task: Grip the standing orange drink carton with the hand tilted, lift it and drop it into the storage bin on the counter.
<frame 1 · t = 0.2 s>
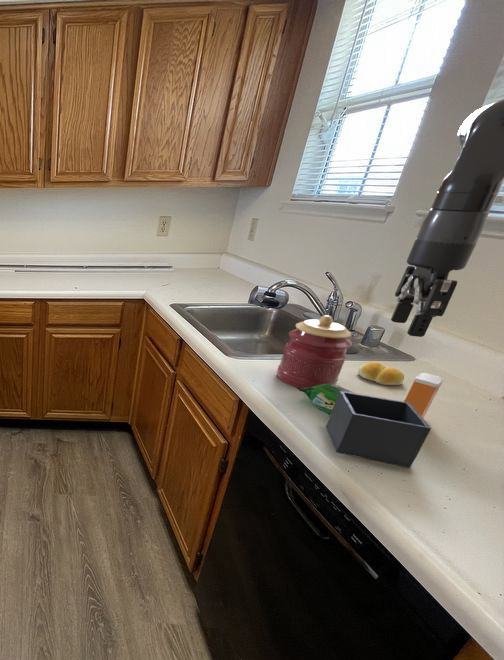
hand: (405, 328, 78), 22 cm above the countertop, tool pointing down, fingers open, 8 cm apart
bread roll: (377, 379, 110), on the countertop
storage bin: (364, 445, 82), on the countertop
snack package: (336, 413, 94), on the countertop
drink carton: (409, 418, 92), on the countertop
kitchen canister: (304, 381, 108), on the countertop
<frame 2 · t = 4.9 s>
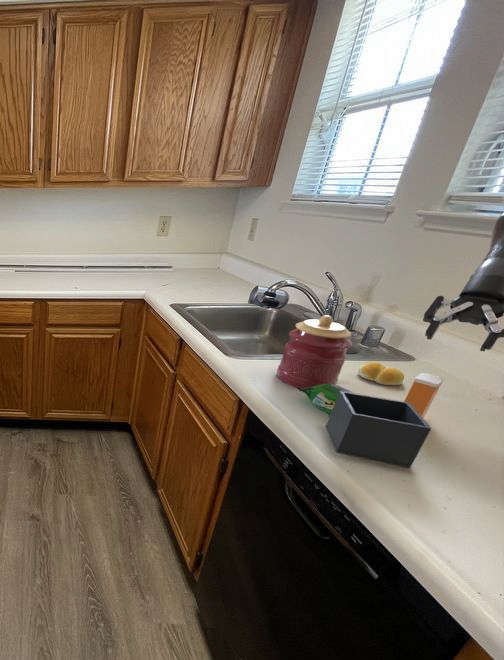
hand: (454, 343, 91), 15 cm above the countertop, tool tilted 45°, fingers open, 8 cm apart
nothing on the countertop moved.
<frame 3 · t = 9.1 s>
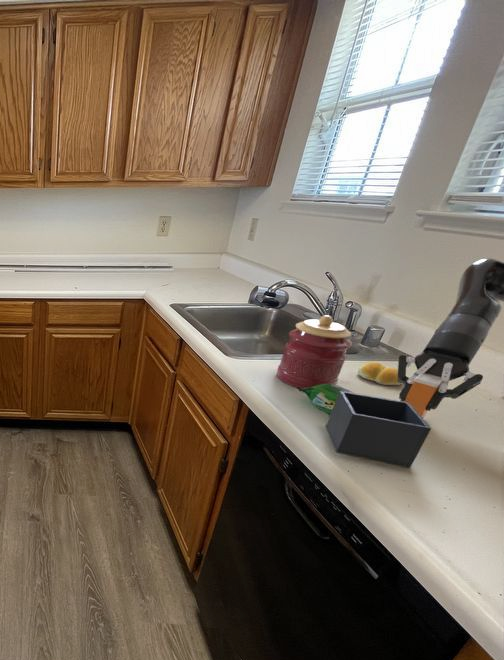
hand: (415, 404, 89), 4 cm above the countertop, tool tilted 45°, fingers closed on drink carton, 3 cm apart
drink carton: (409, 418, 92), on the countertop, touching gripper
everything else where it was.
when the fingers open (11 cm above the countertop, at t = 17.6 s): drink carton drops 7 cm, resting on storage bin.
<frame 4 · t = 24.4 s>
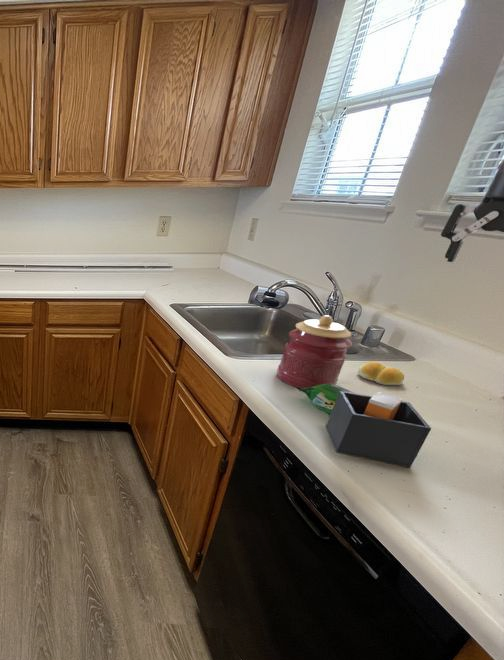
hand: (480, 265, 79), 33 cm above the countertop, tool pointing down, fingers open, 8 cm apart
drink carton: (365, 443, 82), point 1 cm above the countertop, touching storage bin
everything else where it was.
at the end: drink carton inside the target area in the storage bin (0.0 cm from its centre), point 0.6 cm above the storage bin's base; the gripper is holding nothing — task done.
